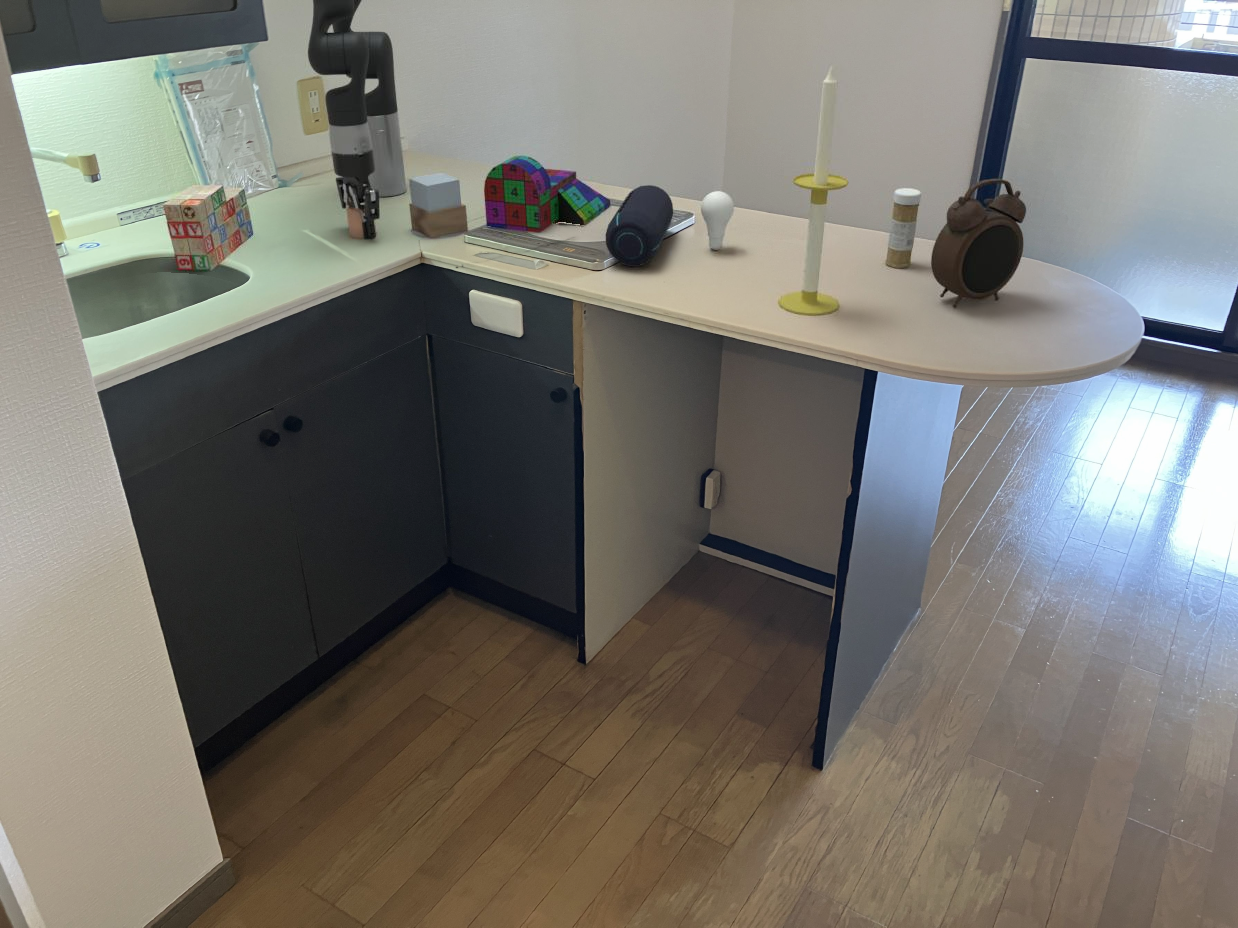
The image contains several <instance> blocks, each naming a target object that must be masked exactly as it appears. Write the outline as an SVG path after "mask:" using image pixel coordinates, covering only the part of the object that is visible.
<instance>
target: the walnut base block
mask: <svg viewBox="0 0 1238 928" xmlns="http://www.w3.org/2000/svg"><path fill="white" fill-rule="evenodd" d="M408 205H409V214H410V223H411V230H412V229H413V230H416V231H418V232H420V233H422V234H424V235H426V236H428V237H430V238H432V240H434V239H433V238H437V237H441V236H446V235H450V234H455V233H459V232H464V231H466V232H468V231H469V227H468V216H467V206H466V204H463V203H461V206H457V207H452V208H447V209H443V210H438V211H433V212H428V211H426V210H424V209H421V208H419V207H417V206H415V205H413V204H412V202H411V203H408Z"/></svg>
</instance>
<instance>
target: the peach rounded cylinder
mask: <svg viewBox="0 0 1238 928" xmlns="http://www.w3.org/2000/svg"><path fill="white" fill-rule="evenodd" d="M373 210H374V209H373ZM345 213H346V219H347V225H348V232H349V233H348V234H349V237H351V238H352V239H353V238H354V239H364V235H363V227H362V219H361V216H360V212H359V211H358V210H356V207H355V206H351V207H349V208H347V209H345ZM364 213H365V209H364ZM374 225H375V233H376V235H377V234H378V232H377V222H376V220H374Z"/></svg>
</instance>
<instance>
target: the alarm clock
mask: <svg viewBox="0 0 1238 928" xmlns="http://www.w3.org/2000/svg"><path fill="white" fill-rule="evenodd" d="M993 184H1002V185H1004V187H1005V191H1006V193H1003V194H999V195H997V196H996V197H994V198H986V199H984V200H983V204H986V206H983V204H982V203H981V202H980V201H979V200H978V199H976V198H974V197H971V196H973V194H974V192H975V191H976V190H977V189H979V188H981V187H983V186H988V185H993ZM1020 196H1021V191H1020V190H1017V191H1015V192H1014V191H1013V187H1012V184H1011V183H1010V182H1009V181H1008V180H1006V179H1000V178H990V179H984V180H980V181H977V182H975V183H974V184H972V185H971V186H969V188H968V189H967V191H966V192H965V194H964V196H958V200H955V201H954V202H953V203H952V204H950V206H949V207H948V209H947V212H946V223H945V225H944V226H943V227H942V229H941V230H940V231H939V233H938V235H937V237H936V238H935V239H936V240H935V242H934V245H933V247H932V252H931V260H930V264H931V272H932V274H933V277H934V279H935V280H936V282H937V283H938V284H939V285H940V286H941V287H943V288H944V289H943V291H942V293H941V294H940V295H939V297H940V298H944V297H945V295H946V294H947V292H948V291H949V292H950V293H952V294H955V295H957V297H956V299H955V302H954V304H953V303H952V307H953V308H954V309H955V308H957V307H958V304H960V302H961V301H962V300H963V298H965V299H969V300H974V301H980V300H984V299H988V298H990V297H992V296H994V300H995V301H999V300H1000V297H999V295H998V292H999V291H1001V289H1003V288H1004V287H1005V286H1006V285H1007V284H1008V283H1009V282H1010V280H1011V279H1012V278H1013V276H1014V275H1015V273H1016V271H1017V270H1018V267H1019V265H1020V262H1021V259H1022V255H1023V252H1024V235H1023V231H1022V229H1021V227H1020V225H1019V224H1022V223H1023V222H1024V219H1025V218H1026V213H1027V206H1026V204H1025V202H1024V201H1023V200H1022V199H1020ZM1018 223H1019V224H1018Z"/></svg>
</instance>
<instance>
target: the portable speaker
mask: <svg viewBox="0 0 1238 928" xmlns="http://www.w3.org/2000/svg"><path fill="white" fill-rule="evenodd" d="M672 201H673V200H672V199H671V197H670V196H669V194H668V193H667V192H666V191H665V190H664V189H662V188H661V187H659V186H656V185H652V184H649V185H648V184H647V185H640V186H637V187H636V188H634V189H632V190H631V191H629V193H628V194H627V196H625V198H624V200H623V202H622V203H621V204H620V206H619V207H618V209H617V211H616V212H615V214H614V215H613V217H612V218H611V220H610V221H609V223H608V224H607V228H606V232H605V245H606V248H607V251H609V254H610V255H611V256H612V258H614V260H616V261H618V262H619V263H620V264H623V265H625V266H628V267H636V266H637V267H638V266H642V265H644V264H646V263H647V262H649V261H651V260H652V258H653V257H654V256H655V255H657V253H658V250H659V248H660V246H661V244H662V242H663V240H664V239H665V236H666V234H667V231H668V230H669V227H670V226H671V224H672V223H671V222H672V220H673V215H674V205H673V202H672Z"/></svg>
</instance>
